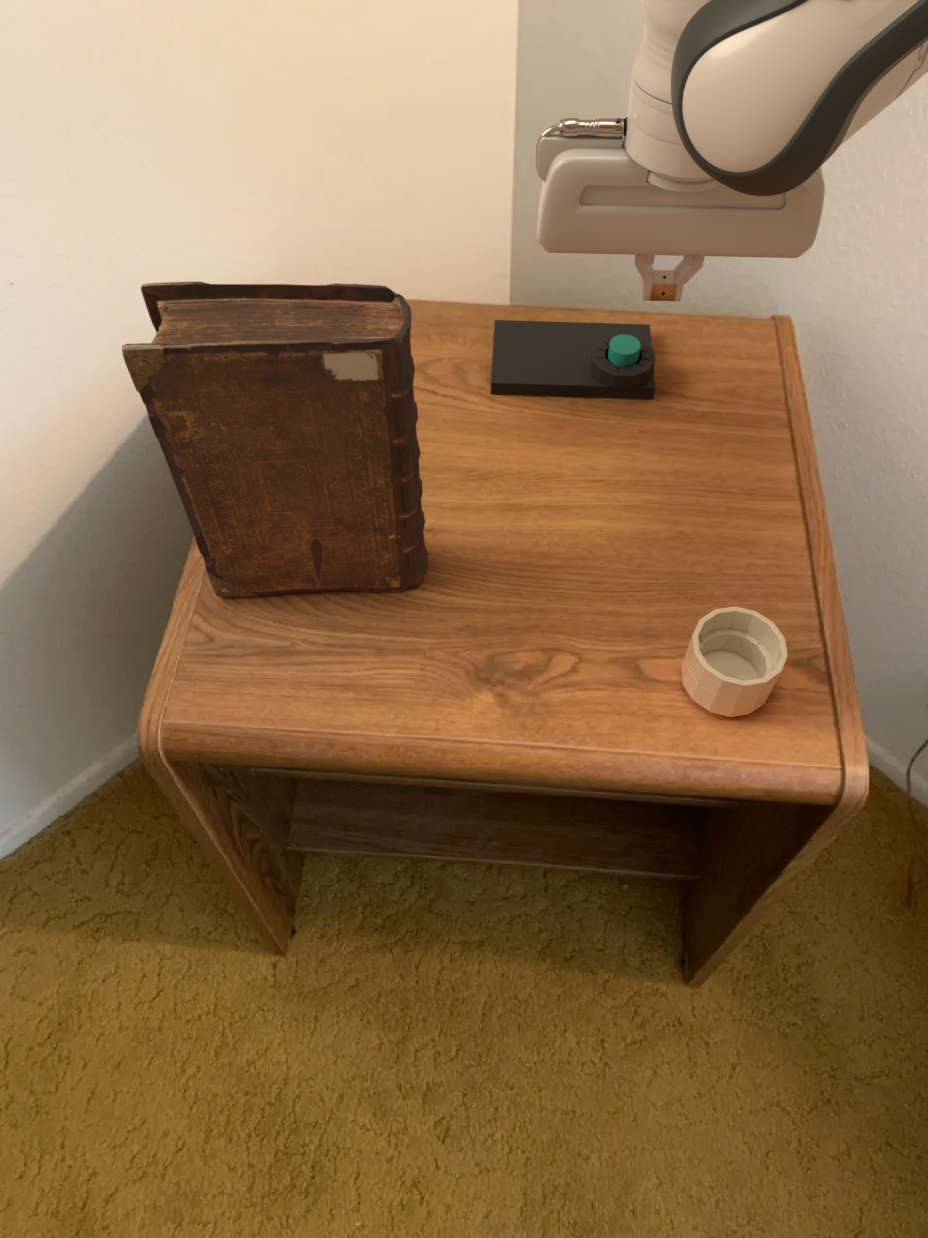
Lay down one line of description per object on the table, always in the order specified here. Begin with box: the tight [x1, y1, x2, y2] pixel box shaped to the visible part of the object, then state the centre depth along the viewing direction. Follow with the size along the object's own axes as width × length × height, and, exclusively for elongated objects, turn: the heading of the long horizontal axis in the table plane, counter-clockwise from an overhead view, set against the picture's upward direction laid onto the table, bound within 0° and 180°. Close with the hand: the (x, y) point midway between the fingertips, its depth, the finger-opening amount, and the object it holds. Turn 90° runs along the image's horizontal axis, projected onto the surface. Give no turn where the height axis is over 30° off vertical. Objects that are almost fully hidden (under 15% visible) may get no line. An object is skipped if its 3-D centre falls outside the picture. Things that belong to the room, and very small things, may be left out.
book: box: [121, 281, 429, 598], centre depth 64 cm, size 17×7×25 cm, turn 85°
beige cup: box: [680, 605, 789, 718], centre depth 66 cm, size 6×6×5 cm
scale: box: [490, 319, 656, 400], centre depth 87 cm, size 15×9×3 cm, turn 87°
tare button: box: [608, 334, 641, 367], centre depth 84 cm, size 3×3×2 cm
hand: (660, 296), depth 73 cm, fingers closed
